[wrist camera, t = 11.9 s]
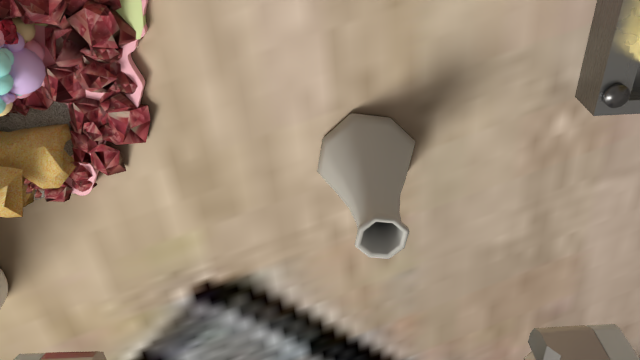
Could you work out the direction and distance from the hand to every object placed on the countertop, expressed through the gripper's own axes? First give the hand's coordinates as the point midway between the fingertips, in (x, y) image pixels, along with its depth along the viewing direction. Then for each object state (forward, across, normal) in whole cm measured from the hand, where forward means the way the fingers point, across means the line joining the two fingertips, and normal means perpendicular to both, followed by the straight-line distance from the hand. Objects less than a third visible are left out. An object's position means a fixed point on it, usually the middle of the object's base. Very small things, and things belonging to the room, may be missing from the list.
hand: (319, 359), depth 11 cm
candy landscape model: (+30, +22, +3) cm, 37 cm away
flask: (+29, -4, +13) cm, 32 cm away
